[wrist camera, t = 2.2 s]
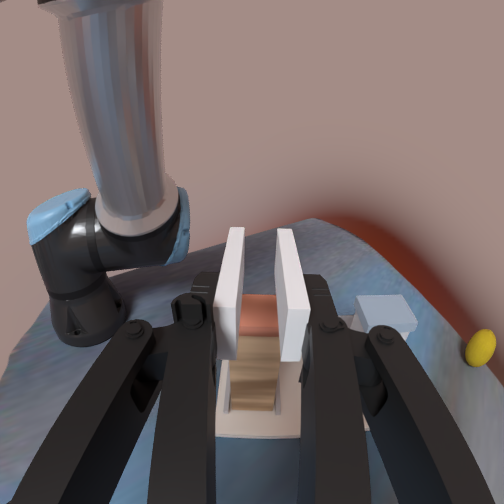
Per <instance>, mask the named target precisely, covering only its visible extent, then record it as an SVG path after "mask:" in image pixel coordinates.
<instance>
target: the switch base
mask: <svg viewBox="0 0 504 504" xmlns="http://www.w3.org/2000/svg"><path fill="white" fill-rule="evenodd" d="M338 317H340V318H341V319H343V320H344V321H345V322H346V324H347V326H348V328H350V327H351V324H352V321H353V318H354V315H346V316H338ZM302 365H303V359H302V354H301V359H300V361H292V362H281V360H280V366H279V373H278V379H277V386H276V392H275V398H274V404H273V410H272V411H248V410H232V404H231V388H230V371H229V360H222V366H221V374H220V382H219V390H218V398H217V406H216V420H215V436H217V437H231V438H256V439H283V438H300V429H301V383H300V382H298V381H299V377H300V373H301V369H302ZM363 419H364V427H365V431H370V429H369V426H368V424H367V422H366V419H365V417H364V415H363Z"/></svg>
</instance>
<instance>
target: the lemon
mask: <svg viewBox="0 0 504 504" xmlns="http://www.w3.org/2000/svg"><path fill="white" fill-rule="evenodd" d="M495 347H496V338H495V335H494V334H493V332H492V331H491V330H487V329H483V330H480V331H478V332H477V333H476V334H474V336H473V337H472V338H471V339H470V341H469V342H468V344H467V347H466V350H465V357H466V360H467V362H468V363H469V365H471V366H473V367H479V366H482V365H484V364H485V363H486V362H487V361H488V360H489V359H490V358H491V356H492V354H493V352H494V350H495Z"/></svg>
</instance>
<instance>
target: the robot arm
mask: <svg viewBox="0 0 504 504" xmlns="http://www.w3.org/2000/svg"><path fill="white" fill-rule="evenodd" d="M2 1H5V0H0V2H2ZM38 8H40V9H43V10H45V11H47V12H49V13H51V14H54V15H55V16H56V17H57V18H58V23H59V31H60V39H61V46H62V53H63V59H64V64H65V70H66V75H67V80H68V85H69V90H70V94H71V99H72V103H73V107H74V111H75V115H76V119H77V122H78V126H79V130H80V133H81V137H82V140H83V144H84V147H85V150H86V154H87V157H88V160H89V163H90V166H91V169H92V172H93V175H94V178H95V181H96V184H97V186H98V189H99V193H98V195H97V197H96V198H91V193H90V192H89V190H88V189H86V188H83V189H74V190H71V191H68V192H65V193H62V194H60V195H58V196H55V197H53V198H51V199H49V200H47V201H46V202H44V203H42V204H41V205H39V206H38V207H36V208H35V209H34V210H33V211H32V212H31V213H30V214H29V216H28V219H27V229H28V234H29V240H30V245H31V246H32V249H33V253H34V256H35V259H36V262H37V265H38V268H39V270H40V273H41V276H42V279H43V281H44V284H45V286H46V289H47V292H48V294H49V298H50V311H51V320H52V325H53V328H54V330H55V332H56V334H57V336H58V337H59V339H60V340H61V341H63V342H64V343H66V344H68V345H71V346H75V347H87V346H92V345H96V344H99V343H101V342H103V341H105V340H107V339H109V338H110V337H112V336H113V335H114V336H113V337H112V338H111V340H110V341H109V343H108V344H107V345H106V347H105V348H104V350H103V351H102V352H101V354H100V355H99V357H98V358H97V359H96V361H95V362H94V364H93V365H92V367H91V368H90V370H89V371H88V372H87V374H86V375H85V377H84V378H83V380H82V381H81V383H80V384H79V386H78V387H77V389H76V390H75V392H74V393H73V395H72V396H71V398H70V399H69V401H68V403H67V404H66V406H65V407H64V409H63V410H62V412H61V413H60V415H59V417H58V418H57V420H56V421H55V423H54V425H53V426H52V428H51V430H50V431H49V433H48V435H47V436H46V438H45V440H44V441H43V443H42V445H41V446H40V448H39V450H38V452H37V453H36V455H35V457H34V459H33V460H32V462H31V464H30V466H29V468H28V469H27V471H26V473H25V475H24V477H23V479H22V481H21V482H20V484H19V486H18V488H17V490H16V492H15V494H14V496H13V498H12V500H11V501H10V502H8V503H7V504H109V502H110V500H111V498H112V496H113V493H114V491H115V489H116V487H117V484H118V482H119V480H120V478H121V475H122V473H123V471H124V469H125V466H126V464H127V462H128V460H129V458H130V455H131V453H132V451H133V449H134V447H135V445H136V442H137V440H138V438H139V436H140V434H141V432H142V429H143V427H144V425H145V423H146V421H147V419H148V417H149V414H150V412H151V410H152V408H153V406H154V404H155V402H156V400H157V398H158V395H159V393H160V391H161V396H160V402H159V408H158V415H157V421H156V428H155V436H154V443H153V451H152V459H151V468H150V477H149V488H148V499H147V504H216V466H215V420H216V355H217V359H220V360H237V349H238V337H239V326H240V314H241V302H242V291H243V279H244V242H245V228H244V227H230V231H229V235H228V239H227V244H226V248H225V253H224V257H223V261H222V266H221V271H220V273H218V272H201V273H200V274H199V275H198V276H197V277H195V279H194V282H193V285H192V288H191V292H190V293H185V294H182V295H179V296H177V297H176V298H175V299H174V300H173V301H172V303H171V308H172V313H173V318H174V324H171V325H169V326H165V327H158V328H152V326H151V325H150V323H149V322H147V321H144V320H139V319H135V320H130V321H128V322H126V323H124V321H125V318H126V308H125V305H124V301H123V298H122V296H121V295H120V293H119V292H118V291H117V289H116V288H115V286H114V285H113V283H112V282H111V281H110V279H109V278H108V276H107V274H106V272H107V271H115V270H123V269H132V268H141V267H149V266H158V265H160V266H166V265H168V264H172V263H178V262H181V261H182V260H184V259H185V257H186V256H187V253H188V248H189V239H190V233H189V229H190V209H189V200H188V195H187V192H186V190H185V189H184V188H180V187H177V186H176V184H175V182H174V180H173V179H172V178H171V177H170V176H169V175H168V174H166V173H165V167H164V152H163V135H162V115H161V27H162V10H163V0H38ZM274 273H275V286H276V299H277V312H278V326H279V340H280V356H281V362H292V361H300V359H301V354H302V359H303V365H302V369H301V373H300V377H299V381H298V382H300V383H301V429H300V461H299V482H298V499H297V504H371V491H370V476H369V464H368V453H367V444H366V435H365V427H364V419H363V415H364V417H365V419H366V422H367V424H368V426H369V429H370V431H371V434H372V436H373V438H374V441H375V443H376V446H377V448H378V451H379V453H380V456H381V458H382V461H383V463H384V466H385V468H386V471H387V473H388V476H389V478H390V481H391V484H392V486H393V489H394V491H395V494H396V497H397V499H398V502H399V504H495V502H494V500H493V497H492V495H491V492H490V490H489V488H488V486H487V483H486V481H485V479H484V477H483V475H482V473H481V471H480V468H479V466H478V464H477V462H476V460H475V458H474V456H473V454H472V452H471V450H470V448H469V447H468V445H467V443H466V441H465V439H464V437H463V435H462V433H461V432H460V430H459V428H458V426H457V424H456V422H455V421H454V419H453V417H452V415H451V414H450V412H449V410H448V408H447V407H446V405H445V403H444V402H443V400H442V398H441V397H440V395H439V393H438V392H437V390H436V388H435V387H434V385H433V383H432V382H431V380H430V379H429V377H428V375H427V374H426V372H425V371H424V369H423V368H422V366H421V364H420V363H419V361H418V360H417V358H416V357H415V355H414V354H413V352H412V351H411V349H410V348H409V346H408V345H407V343H406V342H405V340H404V339H403V337H402V336H401V334H400V333H399V332H398V331H397V330H396V329H394V328H392V327H390V326H386V325H377V326H374V327H372V328H371V330H370V331H369V333H365V332H360V331H355V330H352V329H350V328H348V326H347V324H346V322H345V321H344V320H343V319H341V318H340V317H338V315H337V312H336V309H335V306H334V303H333V300H332V297H331V294H330V291H329V288H328V285H327V282H326V280H325V279H324V278H323V277H322V276H321V275H315V274H303V273H302V269H301V265H300V261H299V256H298V252H297V248H296V244H295V240H294V236H293V232H292V229H277V244H276V258H275V271H274ZM123 323H124V324H123ZM161 389H162V390H161Z"/></svg>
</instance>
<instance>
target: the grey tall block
mask: <svg viewBox="0 0 504 504" xmlns="http://www.w3.org/2000/svg"><path fill="white" fill-rule="evenodd" d="M354 307H355V309H356V311H355V315H354V318H353V321H352V324H351V327H350V329H352V330H355V331H360V332H365V333H369V331H370V330H371V328H372V327H374V326H377V325H386V326H390V327H392V328H394V329H396V330H397V331H398V332H399V333H400V334H401V336H402V337H403V339H404V340H405V341H406V338H407V336H408V334H409V332H411V331H415V328H416V326H417V324H418V321H417V319H416V317H415V316H414V314H413V312H412V311H411V309H410V307H409V306H408V304H407V302H406V301H405V299H404V297H403V296H402V295H366V296H356V298H355V302H354Z"/></svg>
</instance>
